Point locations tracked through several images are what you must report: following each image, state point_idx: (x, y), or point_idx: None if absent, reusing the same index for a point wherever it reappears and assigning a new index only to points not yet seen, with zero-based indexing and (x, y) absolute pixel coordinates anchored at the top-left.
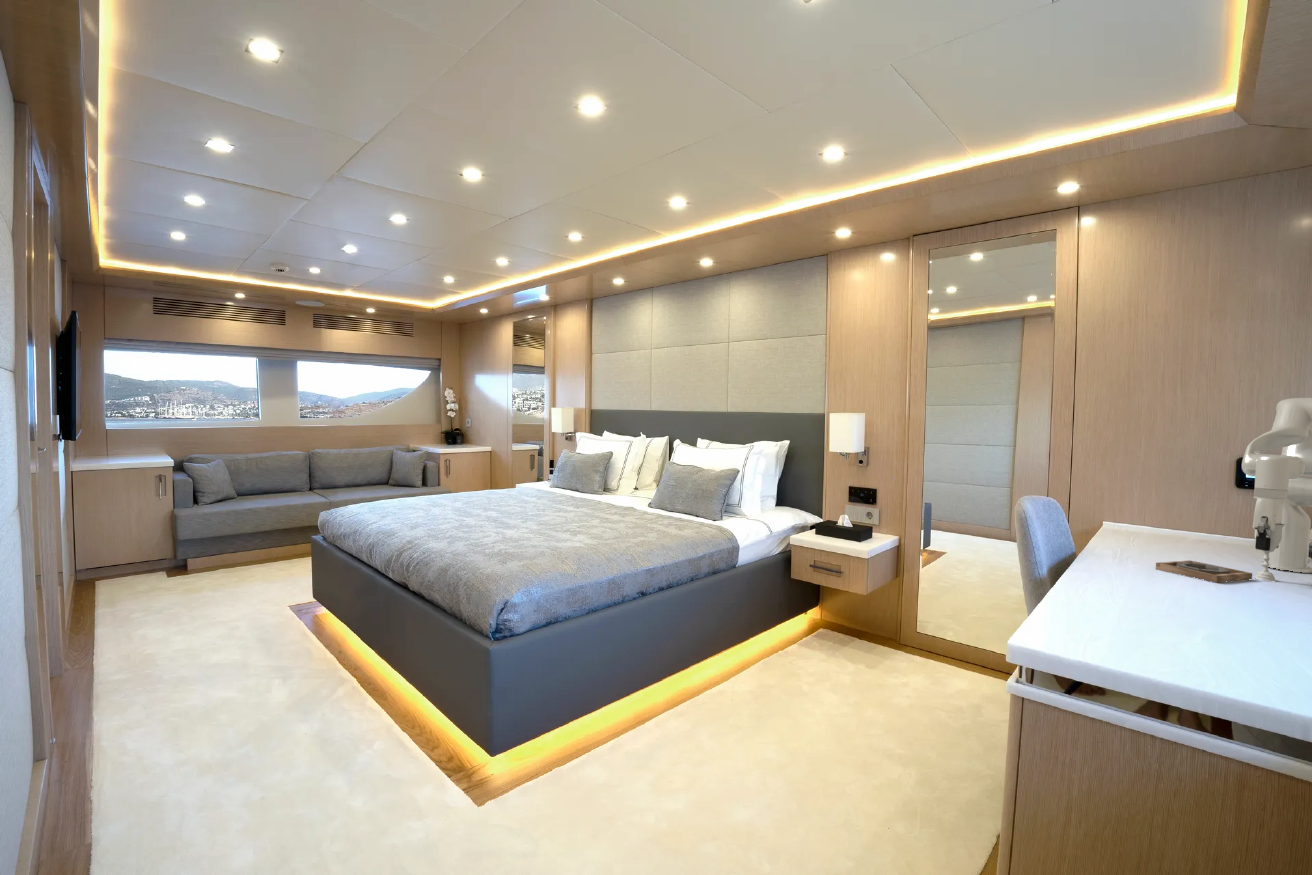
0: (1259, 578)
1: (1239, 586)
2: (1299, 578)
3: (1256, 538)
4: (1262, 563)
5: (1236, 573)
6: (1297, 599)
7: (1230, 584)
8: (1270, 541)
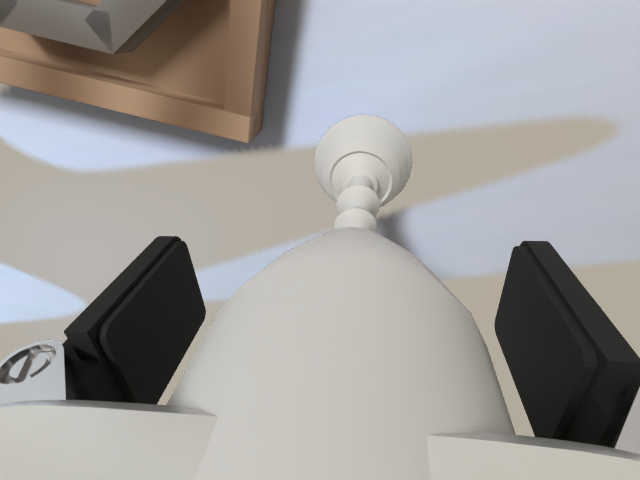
0: (320, 151)
1: (15, 145)
2: (609, 256)
3: (90, 312)
4: (355, 188)
5: (114, 94)
6: (58, 309)
7: (5, 106)
8: (160, 390)
